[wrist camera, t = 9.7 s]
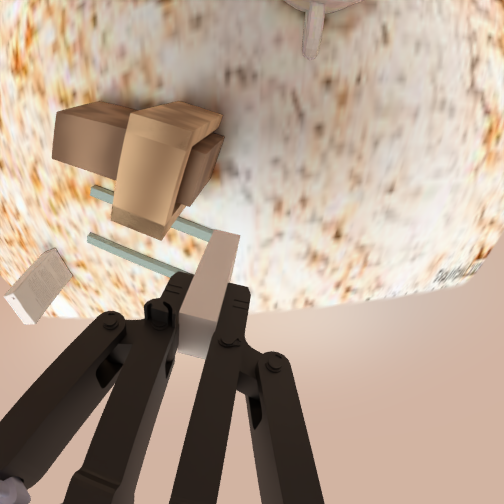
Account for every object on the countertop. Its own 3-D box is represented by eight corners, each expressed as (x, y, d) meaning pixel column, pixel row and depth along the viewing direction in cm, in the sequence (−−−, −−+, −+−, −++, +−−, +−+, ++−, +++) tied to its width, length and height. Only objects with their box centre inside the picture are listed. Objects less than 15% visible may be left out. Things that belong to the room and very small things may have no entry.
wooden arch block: (156, 178, 32) (110, 220, 23) (179, 100, 27) (130, 112, 18) (195, 193, 32) (161, 240, 23) (222, 115, 27) (192, 131, 18)
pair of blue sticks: (90, 239, 38) (87, 242, 37) (94, 184, 33) (91, 187, 32) (202, 285, 40) (200, 289, 39) (221, 233, 35) (220, 237, 34)
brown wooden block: (93, 139, 30) (51, 158, 23) (100, 101, 27) (56, 111, 20) (210, 177, 31) (189, 206, 25) (225, 136, 29) (206, 154, 22)
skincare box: (43, 252, 41) (2, 295, 31) (55, 246, 39) (12, 292, 29) (60, 280, 43) (24, 325, 33) (73, 276, 42) (36, 324, 32)
